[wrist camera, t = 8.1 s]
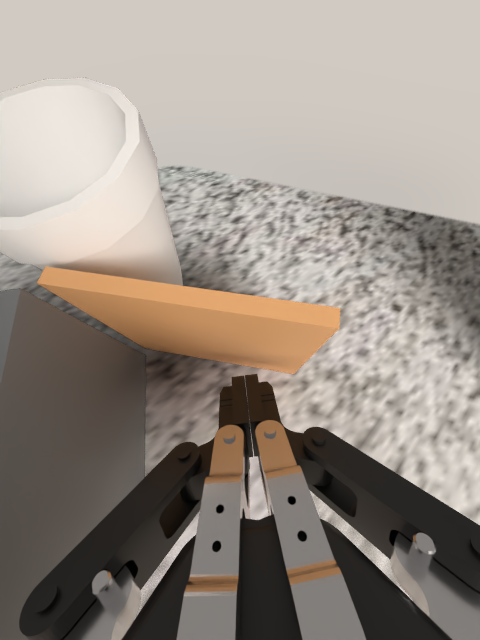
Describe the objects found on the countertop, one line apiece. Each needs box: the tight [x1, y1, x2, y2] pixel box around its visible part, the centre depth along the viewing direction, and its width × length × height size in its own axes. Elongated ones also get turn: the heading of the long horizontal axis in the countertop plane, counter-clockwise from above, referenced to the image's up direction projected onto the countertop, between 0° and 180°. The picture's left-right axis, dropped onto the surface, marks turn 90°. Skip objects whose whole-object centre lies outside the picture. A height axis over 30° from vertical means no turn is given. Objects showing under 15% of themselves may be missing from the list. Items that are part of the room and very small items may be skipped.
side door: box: [37, 266, 340, 374], centre depth 15 cm, size 1×12×11 cm, turn 80°
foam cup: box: [0, 78, 183, 286], centre depth 17 cm, size 10×9×13 cm
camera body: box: [0, 288, 146, 640], centre depth 13 cm, size 6×12×13 cm, turn 7°
